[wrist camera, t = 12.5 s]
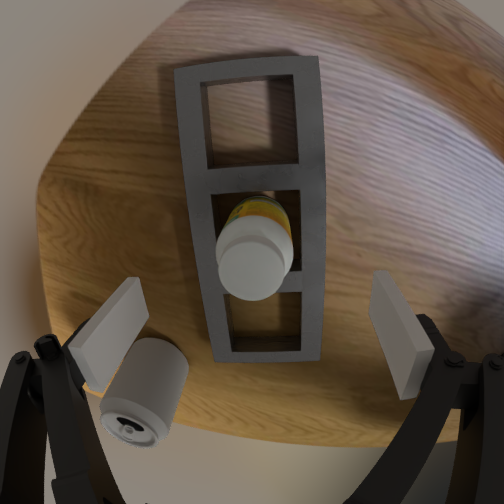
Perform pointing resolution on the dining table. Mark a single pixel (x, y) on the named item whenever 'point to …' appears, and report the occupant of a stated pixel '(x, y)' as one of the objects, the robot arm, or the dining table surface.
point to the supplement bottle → (254, 249)
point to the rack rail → (250, 180)
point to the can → (145, 393)
